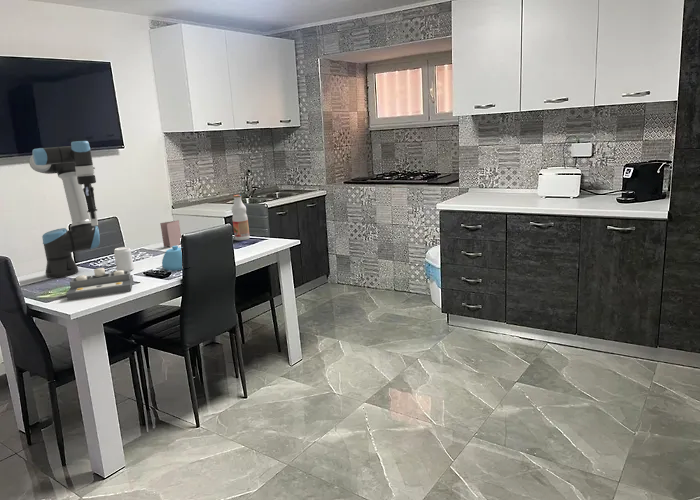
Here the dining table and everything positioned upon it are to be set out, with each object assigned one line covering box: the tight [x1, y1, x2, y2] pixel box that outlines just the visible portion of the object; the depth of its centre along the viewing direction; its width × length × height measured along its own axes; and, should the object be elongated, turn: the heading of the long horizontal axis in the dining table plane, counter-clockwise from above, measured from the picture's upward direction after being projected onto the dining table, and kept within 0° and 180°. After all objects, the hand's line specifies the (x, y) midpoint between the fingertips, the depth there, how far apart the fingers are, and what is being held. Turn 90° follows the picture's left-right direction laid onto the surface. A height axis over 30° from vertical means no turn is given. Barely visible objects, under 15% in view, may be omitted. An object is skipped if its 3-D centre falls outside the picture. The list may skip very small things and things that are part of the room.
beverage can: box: [113, 246, 135, 272], centre depth 274 cm, size 8×8×12 cm
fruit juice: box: [231, 194, 250, 241], centre depth 332 cm, size 9×9×28 cm
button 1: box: [75, 274, 88, 281], centre depth 242 cm, size 4×4×3 cm
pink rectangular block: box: [160, 219, 182, 249], centre depth 328 cm, size 11×7×15 cm, turn 124°
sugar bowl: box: [161, 245, 183, 272], centre depth 274 cm, size 15×15×12 cm
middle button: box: [93, 267, 107, 277], centre depth 244 cm, size 4×4×3 cm
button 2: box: [113, 270, 124, 276], centre depth 247 cm, size 4×4×3 cm
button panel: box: [65, 270, 134, 301], centre depth 242 cm, size 18×26×6 cm
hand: (95, 225), depth 249 cm, fingers closed
